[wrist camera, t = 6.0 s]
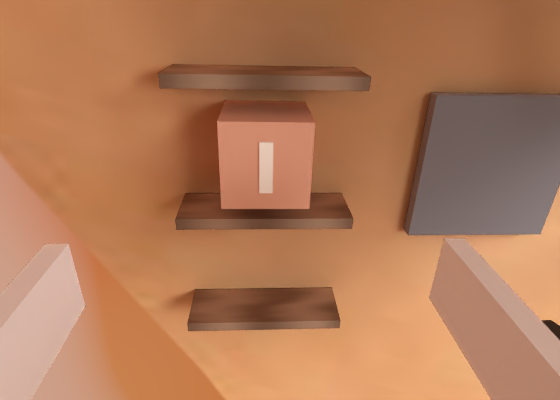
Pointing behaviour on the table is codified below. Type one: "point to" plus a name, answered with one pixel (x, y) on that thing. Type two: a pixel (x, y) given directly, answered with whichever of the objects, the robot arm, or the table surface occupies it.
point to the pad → (486, 164)
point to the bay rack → (208, 214)
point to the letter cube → (265, 154)
